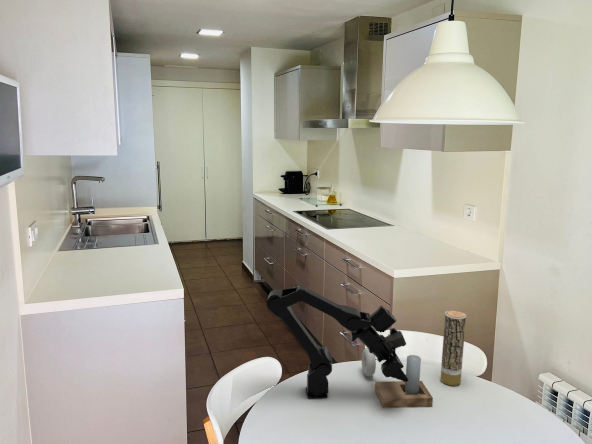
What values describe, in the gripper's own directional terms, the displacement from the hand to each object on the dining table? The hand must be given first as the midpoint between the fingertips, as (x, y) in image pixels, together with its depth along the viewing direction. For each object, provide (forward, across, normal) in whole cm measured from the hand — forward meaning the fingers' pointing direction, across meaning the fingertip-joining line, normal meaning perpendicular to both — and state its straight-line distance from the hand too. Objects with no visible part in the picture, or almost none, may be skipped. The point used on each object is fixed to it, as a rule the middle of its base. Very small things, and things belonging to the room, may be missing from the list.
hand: (405, 374), depth 161 cm
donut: (-1, +14, +13) cm, 20 cm away
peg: (+8, 0, +4) cm, 9 cm away
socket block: (+6, 0, +6) cm, 8 cm away
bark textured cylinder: (+19, +12, -7) cm, 23 cm away
